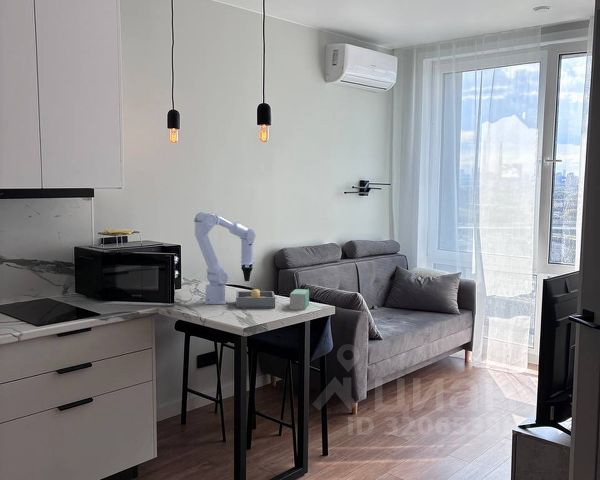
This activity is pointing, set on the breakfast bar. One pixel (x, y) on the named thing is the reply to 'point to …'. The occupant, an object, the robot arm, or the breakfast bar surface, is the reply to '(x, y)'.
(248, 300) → the crate
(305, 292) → the box
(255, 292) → the peg
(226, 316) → the breakfast bar surface
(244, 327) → the breakfast bar surface
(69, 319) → the breakfast bar surface
